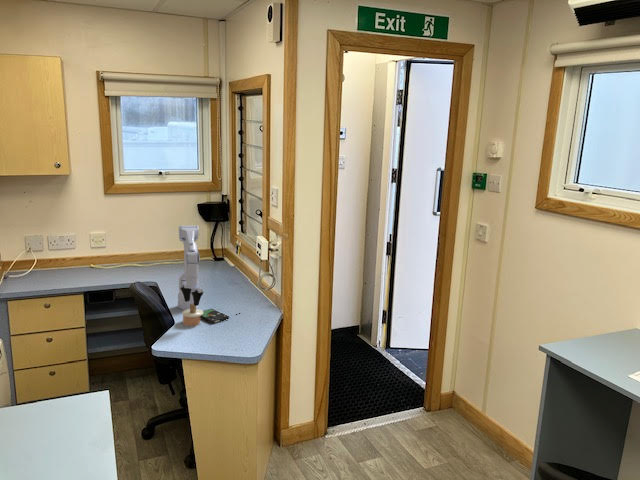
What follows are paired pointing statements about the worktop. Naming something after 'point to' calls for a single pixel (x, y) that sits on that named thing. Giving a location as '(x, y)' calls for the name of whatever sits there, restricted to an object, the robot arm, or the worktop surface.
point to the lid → (192, 312)
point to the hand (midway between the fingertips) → (191, 303)
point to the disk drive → (213, 316)
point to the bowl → (191, 321)
